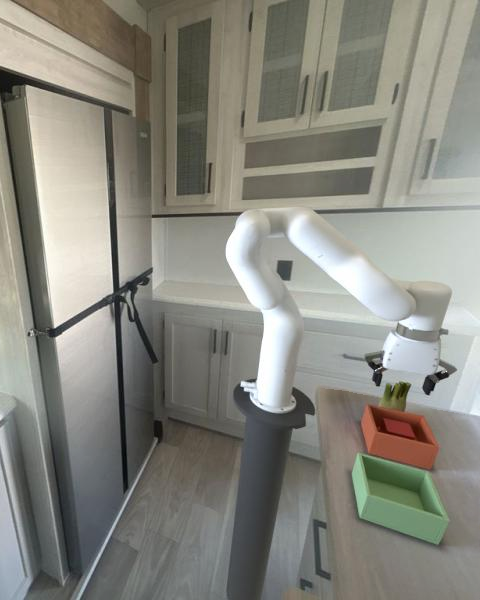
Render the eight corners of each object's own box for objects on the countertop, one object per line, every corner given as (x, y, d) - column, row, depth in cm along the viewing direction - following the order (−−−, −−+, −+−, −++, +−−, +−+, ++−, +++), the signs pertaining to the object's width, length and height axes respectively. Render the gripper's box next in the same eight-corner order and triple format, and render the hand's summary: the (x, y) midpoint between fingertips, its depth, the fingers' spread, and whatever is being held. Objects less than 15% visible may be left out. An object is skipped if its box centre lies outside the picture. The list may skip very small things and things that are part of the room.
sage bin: (359, 517, 68) (367, 495, 66) (351, 473, 77) (357, 452, 75) (438, 545, 62) (450, 521, 60) (419, 494, 72) (429, 471, 69)
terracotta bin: (368, 453, 82) (374, 432, 79) (360, 423, 91) (366, 403, 88) (430, 470, 76) (439, 448, 74) (416, 436, 85) (424, 415, 83)
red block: (382, 446, 83) (387, 430, 81) (378, 432, 86) (383, 417, 85) (409, 453, 80) (415, 437, 78) (404, 438, 84) (409, 423, 82)
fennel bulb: (375, 420, 91) (386, 384, 87) (373, 409, 95) (383, 374, 91) (404, 427, 88) (417, 390, 84) (400, 415, 92) (412, 380, 87)
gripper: (461, 328, 80) (441, 387, 86) (368, 320, 89) (356, 373, 95) (474, 343, 74) (452, 404, 80) (374, 332, 83) (360, 388, 89)
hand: (400, 387), depth 88 cm, fingers open, 9 cm apart
